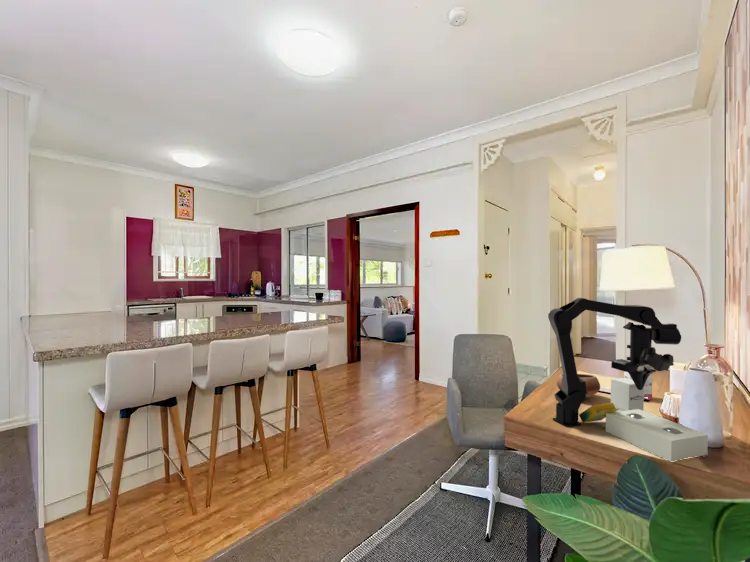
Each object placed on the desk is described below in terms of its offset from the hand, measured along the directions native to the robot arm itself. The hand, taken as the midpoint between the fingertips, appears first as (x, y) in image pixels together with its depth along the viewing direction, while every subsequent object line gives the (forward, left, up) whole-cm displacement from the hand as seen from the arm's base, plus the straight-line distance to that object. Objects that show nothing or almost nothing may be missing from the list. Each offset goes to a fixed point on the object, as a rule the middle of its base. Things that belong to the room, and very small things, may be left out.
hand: (639, 389), depth 119 cm
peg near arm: (-6, -3, -13) cm, 14 cm away
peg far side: (-6, -14, -13) cm, 20 cm away
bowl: (+5, +30, -13) cm, 33 cm away
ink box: (+29, +23, -13) cm, 39 cm away
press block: (-6, -9, -13) cm, 17 cm away
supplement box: (+7, +10, -13) cm, 18 cm away
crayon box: (-11, +9, -12) cm, 19 cm away
